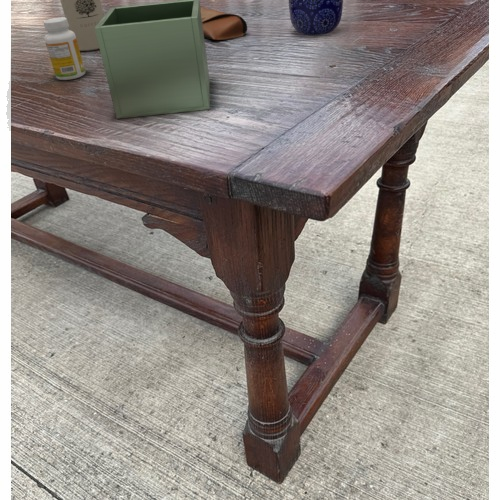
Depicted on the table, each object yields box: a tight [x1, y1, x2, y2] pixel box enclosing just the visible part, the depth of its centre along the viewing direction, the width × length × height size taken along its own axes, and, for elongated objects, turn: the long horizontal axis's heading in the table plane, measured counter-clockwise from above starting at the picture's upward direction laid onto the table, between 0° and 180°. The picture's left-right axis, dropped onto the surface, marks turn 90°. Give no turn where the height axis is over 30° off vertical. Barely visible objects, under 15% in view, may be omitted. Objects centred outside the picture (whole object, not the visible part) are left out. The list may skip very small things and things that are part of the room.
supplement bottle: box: [43, 16, 86, 81], centre depth 91 cm, size 5×5×10 cm
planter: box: [288, 0, 344, 36], centre depth 102 cm, size 11×11×11 cm
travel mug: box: [59, 0, 105, 52], centre depth 106 cm, size 8×8×18 cm
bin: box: [95, 0, 211, 120], centre depth 76 cm, size 14×14×12 cm
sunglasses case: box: [200, 5, 248, 41], centre depth 112 cm, size 18×7×7 cm
